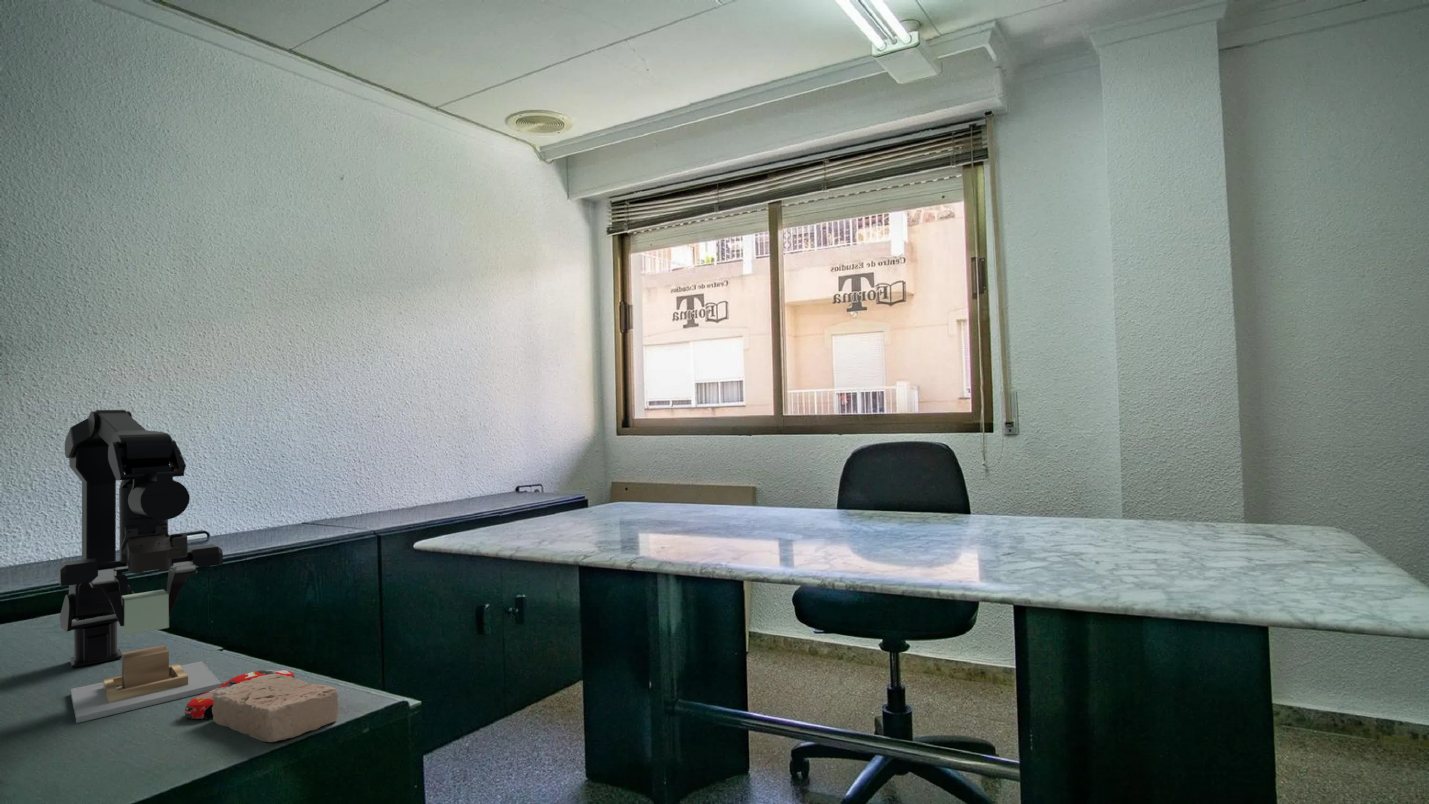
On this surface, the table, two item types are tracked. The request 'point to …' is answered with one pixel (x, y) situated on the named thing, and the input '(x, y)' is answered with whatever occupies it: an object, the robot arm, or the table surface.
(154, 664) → the walnut block
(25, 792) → the table surface
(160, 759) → the table surface
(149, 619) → the sage block
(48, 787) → the table surface
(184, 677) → the baseplate
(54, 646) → the table surface
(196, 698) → the race car
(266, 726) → the brick
